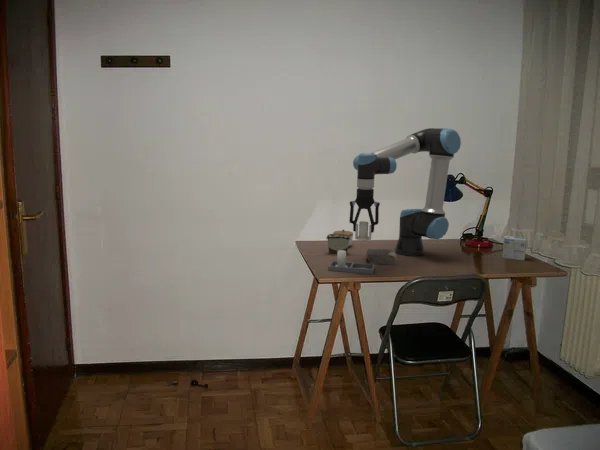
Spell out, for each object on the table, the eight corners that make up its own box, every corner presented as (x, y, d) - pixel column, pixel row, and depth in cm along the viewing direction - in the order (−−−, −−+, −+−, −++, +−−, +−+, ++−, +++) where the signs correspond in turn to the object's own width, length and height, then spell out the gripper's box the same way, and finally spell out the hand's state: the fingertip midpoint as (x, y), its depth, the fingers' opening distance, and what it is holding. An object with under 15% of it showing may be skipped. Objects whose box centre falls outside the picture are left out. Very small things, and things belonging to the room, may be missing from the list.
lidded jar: (353, 248, 273) (354, 231, 271) (333, 248, 273) (334, 231, 271) (351, 244, 284) (352, 227, 282) (332, 243, 284) (333, 227, 282)
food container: (349, 252, 266) (350, 233, 264) (349, 255, 259) (350, 236, 258) (326, 251, 267) (326, 232, 265) (325, 254, 261) (326, 235, 259)
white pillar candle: (370, 238, 232) (370, 221, 231) (368, 241, 227) (369, 223, 225) (357, 237, 234) (358, 220, 232) (356, 240, 228) (356, 222, 227)
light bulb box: (524, 257, 260) (527, 237, 258) (524, 260, 254) (526, 239, 252) (502, 255, 264) (504, 235, 262) (501, 258, 258) (503, 237, 256)
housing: (374, 268, 237) (375, 251, 235) (372, 274, 227) (373, 256, 226) (331, 264, 241) (332, 248, 240) (328, 270, 232) (328, 252, 230)
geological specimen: (365, 248, 254) (395, 248, 253) (365, 260, 255) (395, 260, 254) (366, 253, 243) (398, 252, 242) (366, 266, 244) (398, 265, 243)
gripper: (386, 188, 227) (384, 238, 232) (346, 186, 232) (344, 235, 236) (385, 190, 220) (383, 242, 225) (343, 188, 224) (341, 239, 229)
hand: (363, 238), depth 230 cm, fingers closed on white pillar candle, 5 cm apart
